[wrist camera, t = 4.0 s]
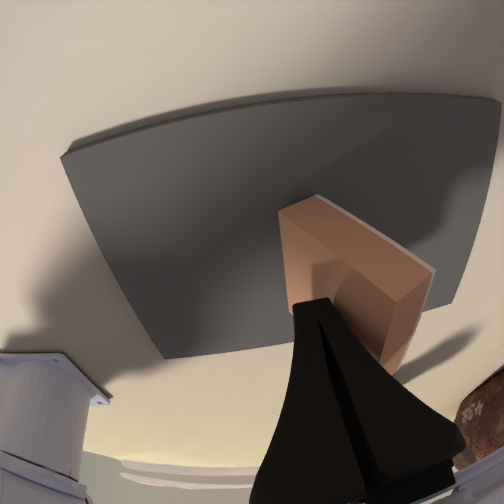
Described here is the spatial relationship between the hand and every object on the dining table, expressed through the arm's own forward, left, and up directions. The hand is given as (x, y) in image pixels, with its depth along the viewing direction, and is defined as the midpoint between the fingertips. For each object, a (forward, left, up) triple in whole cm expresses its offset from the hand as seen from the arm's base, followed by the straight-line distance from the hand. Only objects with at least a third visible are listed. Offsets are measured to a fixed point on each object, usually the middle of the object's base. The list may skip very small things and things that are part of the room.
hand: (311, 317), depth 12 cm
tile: (0, 0, -3) cm, 3 cm away
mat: (+1, 0, -4) cm, 5 cm away
